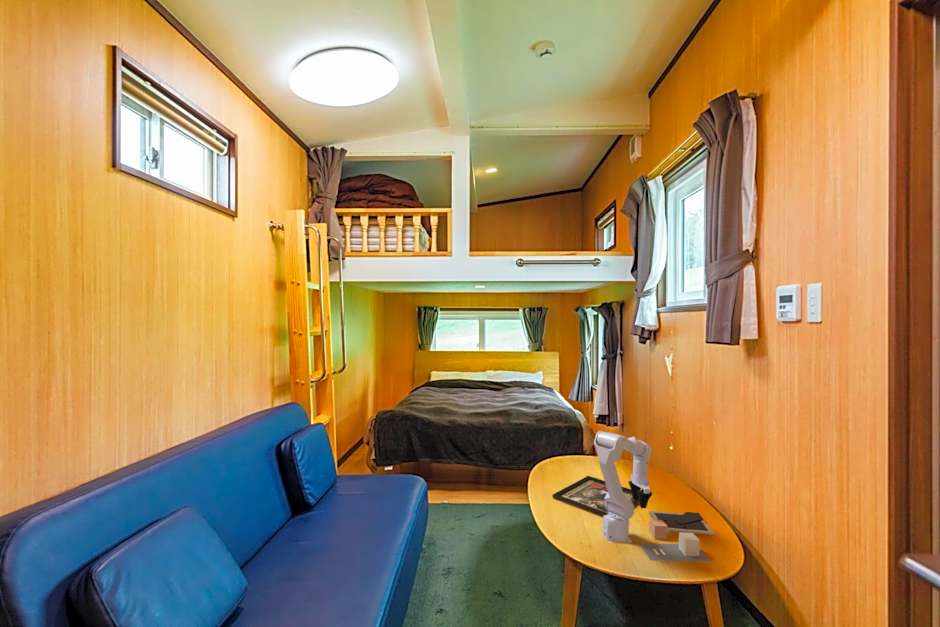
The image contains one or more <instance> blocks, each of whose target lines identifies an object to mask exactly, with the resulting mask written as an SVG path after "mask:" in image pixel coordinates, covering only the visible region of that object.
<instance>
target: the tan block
mask: <svg viewBox="0 0 940 627" xmlns="http://www.w3.org/2000/svg"><path fill="white" fill-rule="evenodd" d="M700 541H701V540H700V538H698V537H697V536H696V535H695V533H682V532H678V544H679V549H680V550H681V552H682V553H683V554H684V555H685V556H699V548H700V543H701V542H700Z"/></svg>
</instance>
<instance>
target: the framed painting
mask: <svg viewBox="0 0 940 627" xmlns="http://www.w3.org/2000/svg"><path fill="white" fill-rule="evenodd" d="M621 487H622V490H623V493H624V494H625V495H626V496H627V497H628V498H630V500H631V502H632V503H633V505H634V508H635V507H637V506H638V505H640V501H639V499H638V500H634V499H633V496H632V491H631V488H628V487H624V486H622V485H621ZM607 493H608V490H607V487H606V483H605V480H604V479H600V478H597V477H594V476H590V475H587V476H585V477H583V478H581V479H580V480H577V481H576V482H574V483H572V484H569V485H568V486H566V487H564V488H562V489H561V490H558V491H557V492H555V493H553V494H552V496H551V497H552V499H554V500H556V501H559V502H561V503H563V504H565V505H568V506H570V507H573V508H577V509H579V510H581V511H583V512H584V511H585V512H586V513H590V514H592V515H595V516H597V517H600V518H602V519H603V516H604V515H608V511H607V510H606V508H605V499H604V498H605V496H606V494H607Z"/></svg>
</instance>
